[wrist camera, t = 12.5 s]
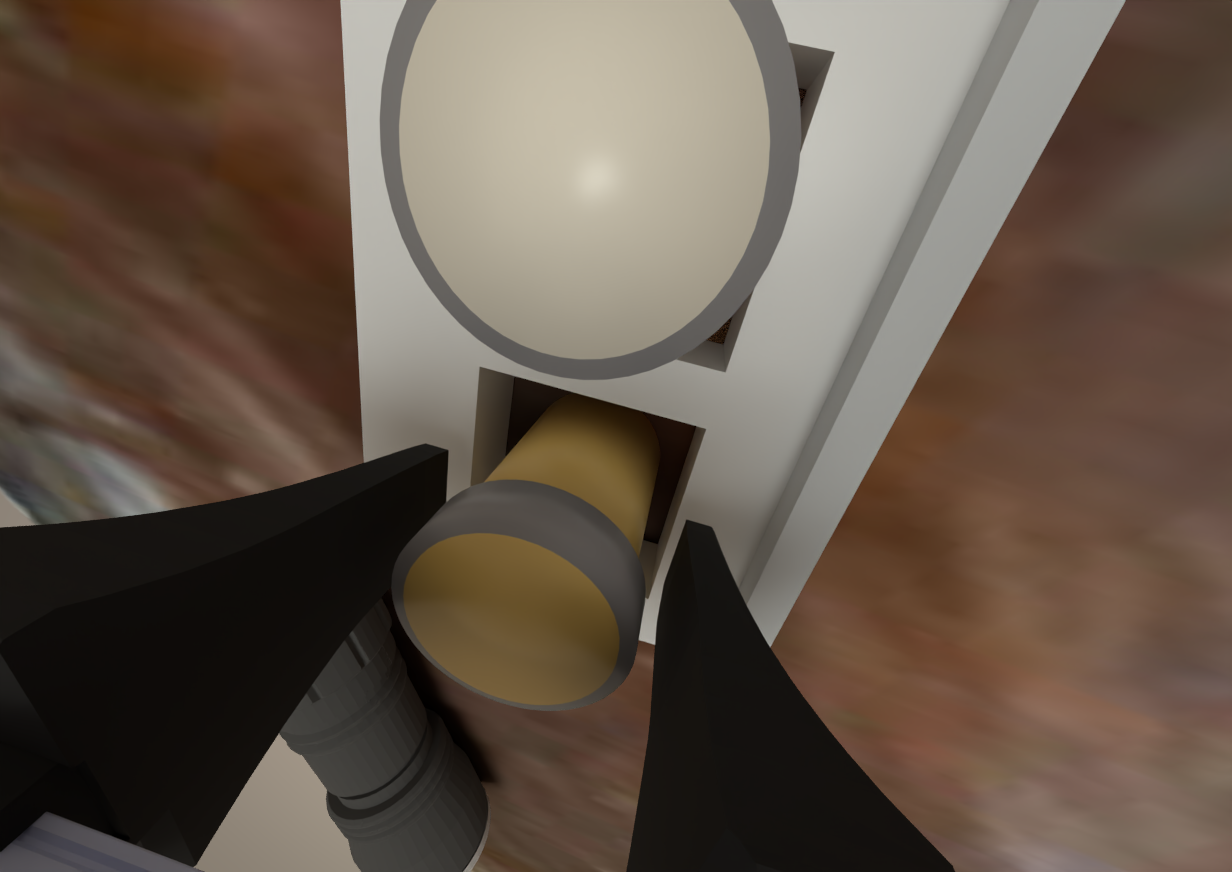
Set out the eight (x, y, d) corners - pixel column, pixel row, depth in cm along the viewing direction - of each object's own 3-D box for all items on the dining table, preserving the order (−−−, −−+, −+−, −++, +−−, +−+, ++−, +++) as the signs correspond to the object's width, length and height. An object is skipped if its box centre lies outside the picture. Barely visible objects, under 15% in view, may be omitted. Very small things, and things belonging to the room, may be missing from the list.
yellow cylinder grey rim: (688, 404, 13) (667, 571, 7) (649, 528, 15) (606, 743, 9) (535, 363, 13) (384, 487, 7) (518, 490, 16) (390, 670, 9)
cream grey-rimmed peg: (781, 113, 10) (900, -64, 4) (709, 320, 12) (707, 428, 6) (580, 58, 10) (376, -193, 4) (544, 269, 12) (371, 322, 6)
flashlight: (284, 549, 20) (144, 656, 15) (390, 541, 18) (274, 657, 13) (420, 773, 25) (351, 903, 21) (508, 781, 24) (456, 922, 19)
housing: (1011, 16, 9) (1178, -95, 6) (734, 607, 16) (739, 702, 13) (419, -100, 10) (277, -252, 6) (413, 510, 17) (346, 576, 14)
